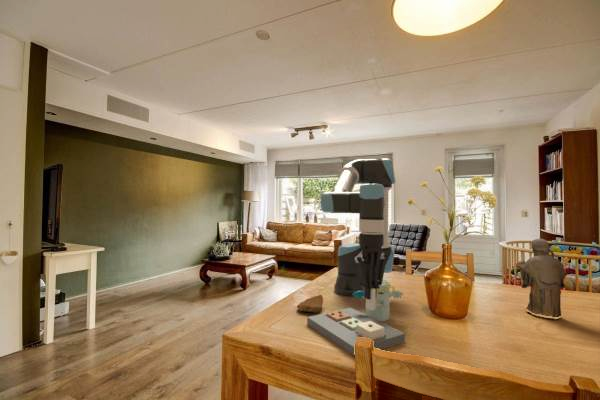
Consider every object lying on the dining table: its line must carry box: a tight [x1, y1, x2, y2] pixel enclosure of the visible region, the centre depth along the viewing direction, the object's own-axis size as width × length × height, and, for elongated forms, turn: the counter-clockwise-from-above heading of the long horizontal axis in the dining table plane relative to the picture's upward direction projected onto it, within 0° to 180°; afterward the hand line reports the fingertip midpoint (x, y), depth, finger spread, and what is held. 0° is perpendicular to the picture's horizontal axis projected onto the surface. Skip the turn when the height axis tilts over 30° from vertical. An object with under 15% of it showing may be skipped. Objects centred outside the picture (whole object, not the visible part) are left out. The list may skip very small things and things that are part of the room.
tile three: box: [326, 309, 350, 322], centre depth 104 cm, size 6×6×3 cm
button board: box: [306, 307, 406, 357], centre depth 97 cm, size 20×26×2 cm
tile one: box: [357, 321, 385, 340], centre depth 90 cm, size 6×6×3 cm
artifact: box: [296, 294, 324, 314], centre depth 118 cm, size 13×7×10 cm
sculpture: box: [517, 238, 568, 317], centre depth 116 cm, size 16×11×30 cm
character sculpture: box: [351, 279, 404, 322], centre depth 110 cm, size 20×12×13 cm, turn 92°
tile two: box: [341, 318, 363, 331], centre depth 97 cm, size 6×6×3 cm
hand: (370, 308), depth 90 cm, fingers closed
